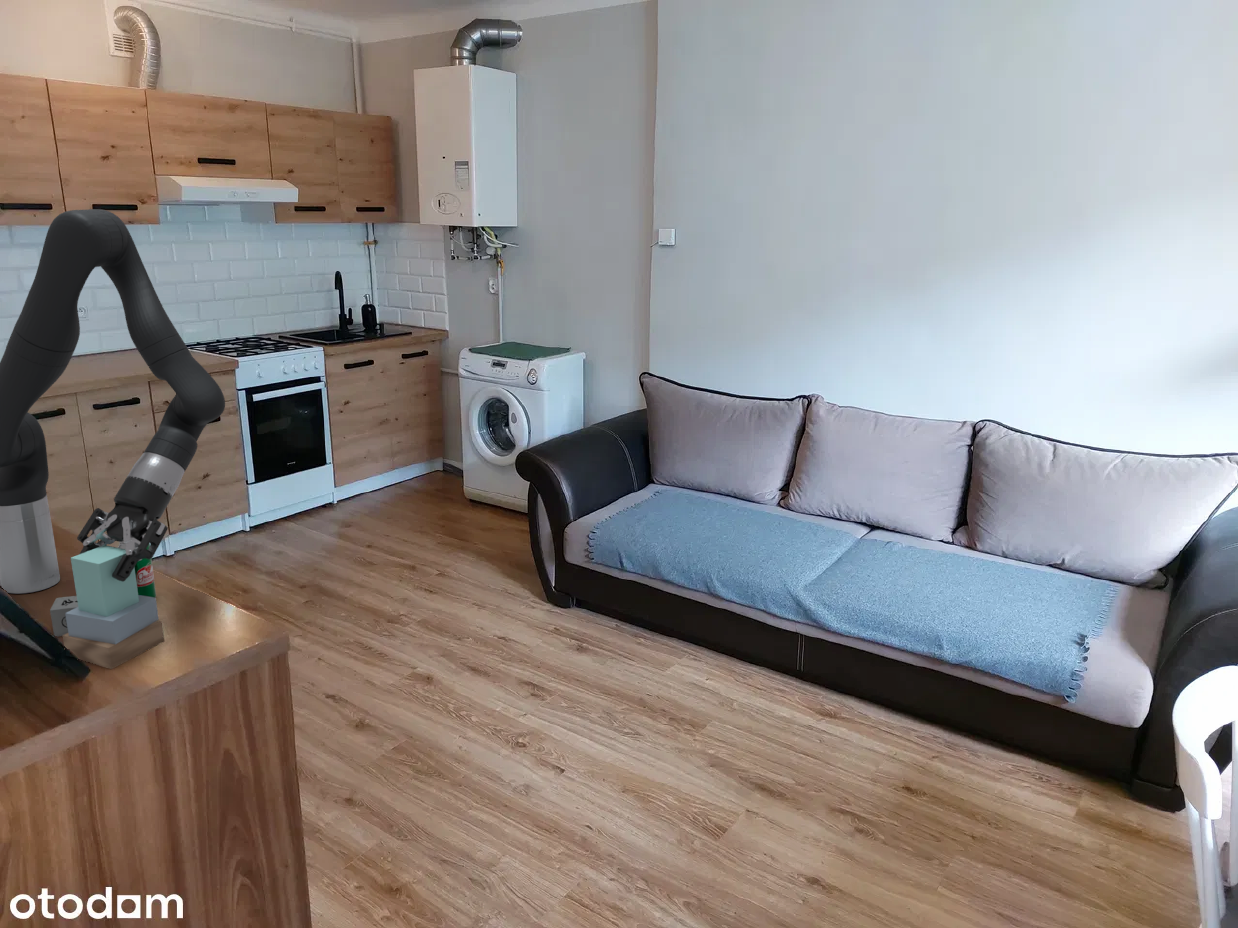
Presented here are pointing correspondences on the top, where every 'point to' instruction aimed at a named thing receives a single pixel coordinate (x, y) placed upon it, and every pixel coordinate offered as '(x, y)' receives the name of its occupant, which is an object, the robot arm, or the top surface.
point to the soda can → (143, 575)
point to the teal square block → (102, 582)
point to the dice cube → (62, 613)
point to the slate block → (113, 622)
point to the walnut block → (115, 646)
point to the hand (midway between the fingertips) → (98, 574)
